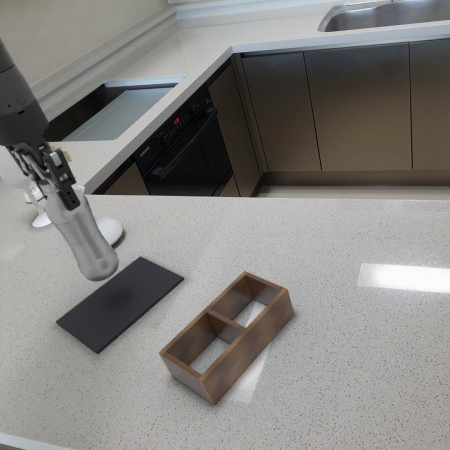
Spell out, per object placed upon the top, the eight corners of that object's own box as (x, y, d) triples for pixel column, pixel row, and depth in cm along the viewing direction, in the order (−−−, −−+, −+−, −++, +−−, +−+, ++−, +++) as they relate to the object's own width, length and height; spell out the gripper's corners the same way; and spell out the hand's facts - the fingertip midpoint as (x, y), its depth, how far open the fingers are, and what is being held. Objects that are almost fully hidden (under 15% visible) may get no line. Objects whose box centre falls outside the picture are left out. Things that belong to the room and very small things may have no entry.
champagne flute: (58, 221, 115) (5, 134, 101) (31, 230, 114) (-27, 144, 99) (59, 208, 120) (9, 124, 106) (33, 217, 119) (-22, 133, 105)
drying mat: (97, 354, 78) (96, 352, 77) (56, 323, 85) (55, 321, 85) (184, 279, 89) (183, 276, 89) (141, 258, 97) (140, 255, 97)
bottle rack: (214, 405, 66) (201, 381, 62) (171, 376, 71) (158, 352, 68) (294, 314, 77) (287, 289, 74) (252, 294, 83) (244, 270, 79)
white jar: (45, 191, 130) (26, 197, 128) (39, 182, 128) (21, 188, 127) (45, 199, 126) (26, 205, 125) (39, 190, 124) (20, 196, 123)
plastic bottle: (79, 284, 81) (18, 190, 70) (102, 259, 86) (50, 167, 74) (107, 288, 79) (50, 192, 67) (130, 262, 84) (81, 168, 72)
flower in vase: (136, 230, 106) (87, 132, 91) (99, 263, 98) (39, 161, 83) (97, 222, 112) (45, 128, 97) (60, 252, 104) (-2, 155, 89)
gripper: (-41, 109, 65) (21, 205, 75) (2, 122, 57) (66, 228, 67) (9, 89, 70) (62, 182, 80) (56, 98, 62) (108, 200, 72)
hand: (63, 202), depth 73 cm, fingers closed on plastic bottle, 6 cm apart
